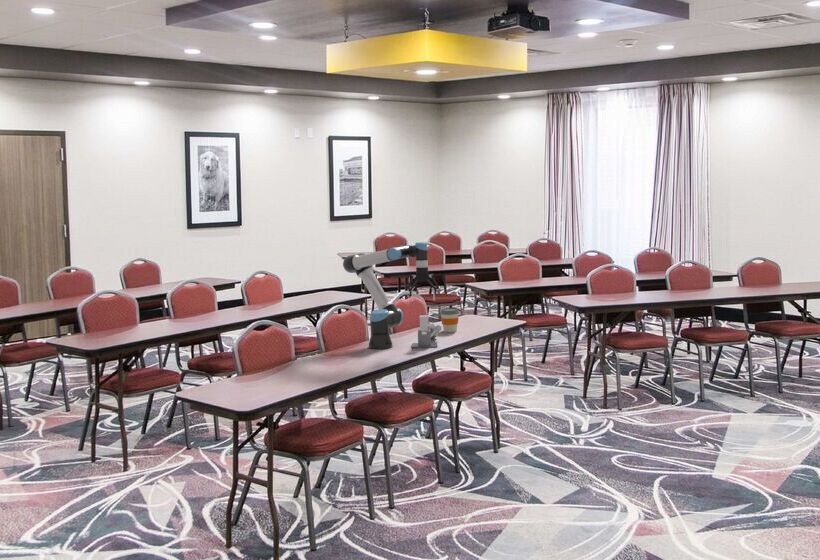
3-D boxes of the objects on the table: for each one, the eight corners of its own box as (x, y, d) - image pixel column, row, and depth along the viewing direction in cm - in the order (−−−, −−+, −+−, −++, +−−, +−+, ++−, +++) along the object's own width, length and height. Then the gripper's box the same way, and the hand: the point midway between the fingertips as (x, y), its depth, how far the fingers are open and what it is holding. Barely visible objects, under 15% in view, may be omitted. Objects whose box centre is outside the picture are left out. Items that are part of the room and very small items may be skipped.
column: (420, 345, 548) (419, 316, 546) (420, 343, 553) (419, 315, 551) (428, 344, 548) (427, 316, 545) (428, 343, 553) (427, 315, 550)
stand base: (411, 348, 544) (411, 332, 543) (412, 344, 556) (411, 329, 555) (437, 347, 544) (436, 331, 543) (437, 343, 556) (436, 328, 555)
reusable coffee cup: (438, 330, 605) (438, 308, 603) (455, 328, 608) (455, 307, 607) (444, 333, 593) (443, 311, 591) (461, 331, 596) (461, 310, 594)
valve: (432, 336, 580) (446, 331, 569) (417, 352, 569) (432, 347, 558) (423, 324, 578) (437, 319, 567) (408, 340, 567) (423, 335, 556)
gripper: (402, 268, 541) (403, 302, 543) (442, 266, 540) (443, 300, 543) (402, 267, 548) (403, 300, 551) (441, 265, 548) (442, 298, 550)
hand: (423, 300), depth 547 cm, fingers open, 13 cm apart
